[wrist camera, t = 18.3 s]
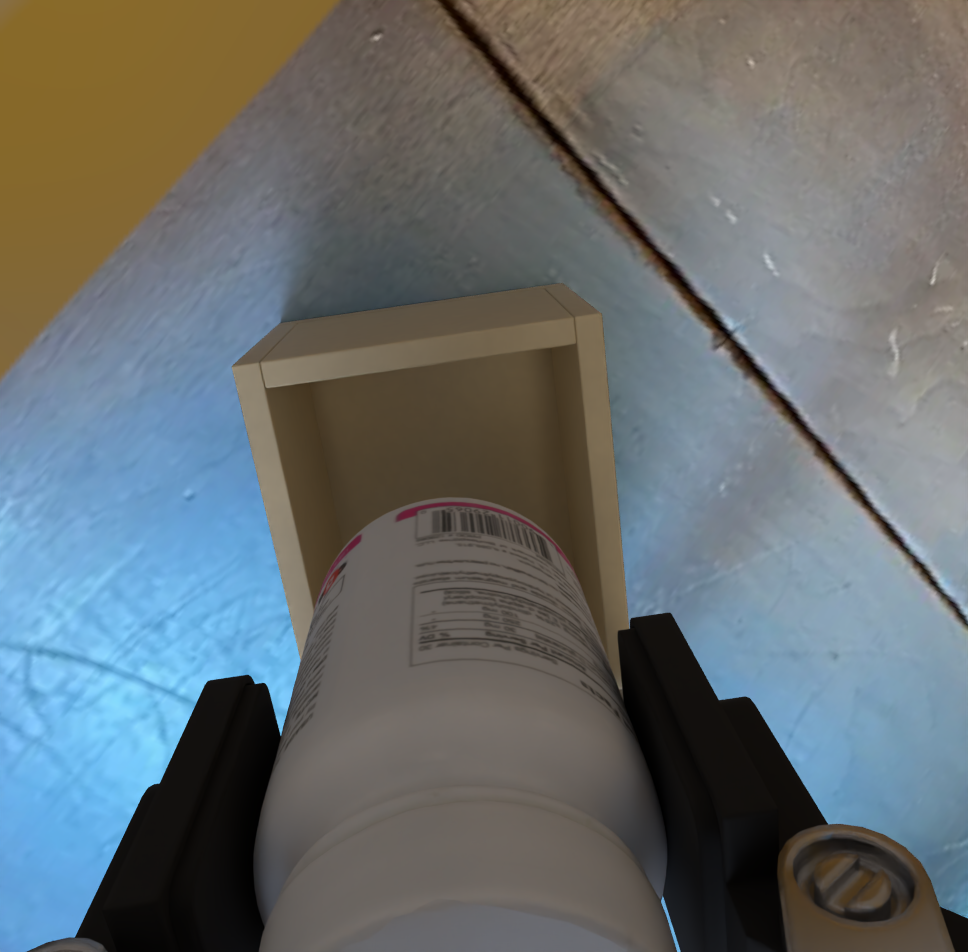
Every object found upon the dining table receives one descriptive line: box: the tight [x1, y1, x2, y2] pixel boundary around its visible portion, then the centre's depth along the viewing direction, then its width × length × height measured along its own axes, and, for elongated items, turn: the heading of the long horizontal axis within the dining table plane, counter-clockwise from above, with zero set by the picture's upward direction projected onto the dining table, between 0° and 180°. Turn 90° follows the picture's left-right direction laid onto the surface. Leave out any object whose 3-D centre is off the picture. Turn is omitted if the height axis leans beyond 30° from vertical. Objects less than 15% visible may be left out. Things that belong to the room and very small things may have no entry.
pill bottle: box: [253, 497, 677, 952], centre depth 11 cm, size 5×5×8 cm
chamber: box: [232, 283, 629, 690], centre depth 30 cm, size 13×11×8 cm
